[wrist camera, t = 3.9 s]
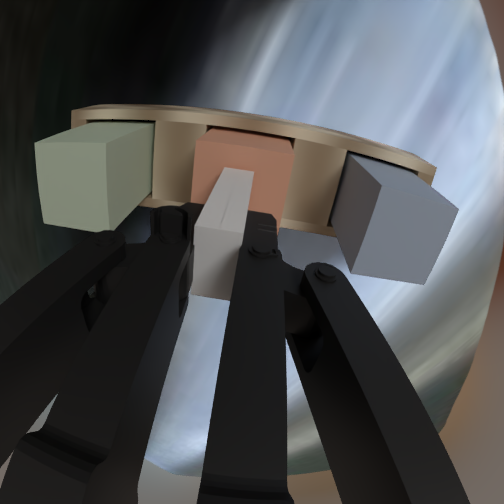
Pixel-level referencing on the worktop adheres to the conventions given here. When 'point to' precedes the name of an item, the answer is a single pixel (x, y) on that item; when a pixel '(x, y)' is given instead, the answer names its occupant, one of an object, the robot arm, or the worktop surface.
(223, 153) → the terracotta block
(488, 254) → the worktop surface
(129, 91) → the worktop surface
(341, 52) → the worktop surface
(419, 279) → the slate block
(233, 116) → the socket rail
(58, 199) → the sage block
